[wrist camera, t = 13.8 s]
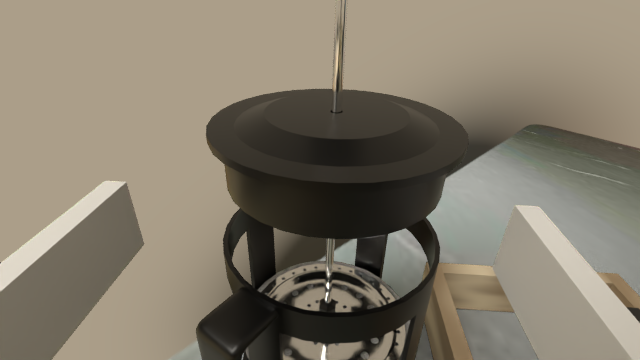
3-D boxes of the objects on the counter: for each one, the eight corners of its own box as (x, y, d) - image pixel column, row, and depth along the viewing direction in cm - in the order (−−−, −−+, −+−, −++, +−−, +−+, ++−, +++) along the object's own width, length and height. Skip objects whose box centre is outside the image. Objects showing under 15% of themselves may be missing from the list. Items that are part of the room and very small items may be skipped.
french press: (313, 297, 27) (320, -64, 16) (431, 366, 22) (563, -80, 11) (182, 436, 18) (-11, -132, 7) (328, 595, 14) (435, -329, 2)
